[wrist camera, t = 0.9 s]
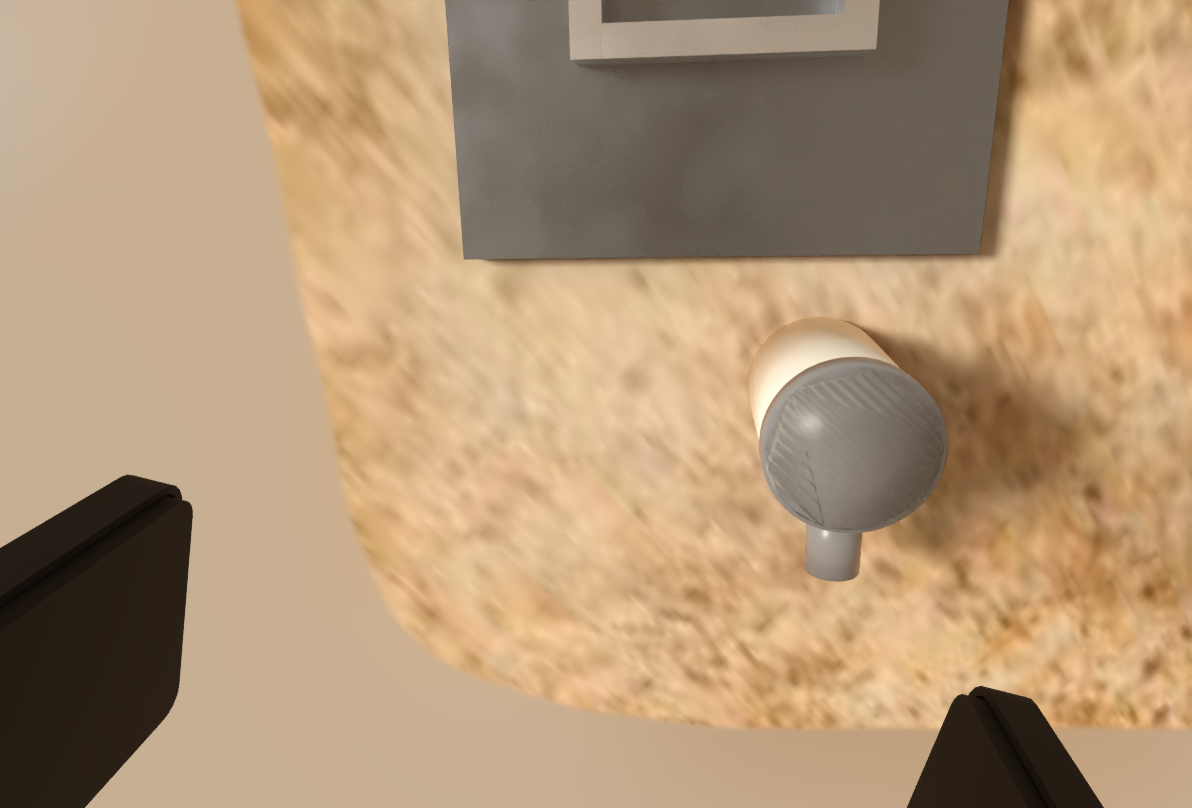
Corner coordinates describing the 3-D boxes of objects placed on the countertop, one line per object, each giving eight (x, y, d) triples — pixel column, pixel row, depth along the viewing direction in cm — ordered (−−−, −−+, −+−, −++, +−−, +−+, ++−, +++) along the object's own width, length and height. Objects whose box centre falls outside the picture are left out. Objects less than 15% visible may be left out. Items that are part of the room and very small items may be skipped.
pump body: (896, 314, 30) (957, 363, 23) (879, 507, 32) (930, 601, 26) (746, 314, 31) (764, 363, 24) (740, 504, 33) (755, 596, 26)
